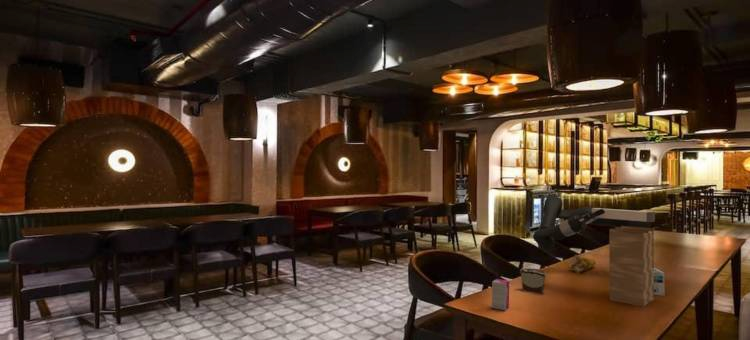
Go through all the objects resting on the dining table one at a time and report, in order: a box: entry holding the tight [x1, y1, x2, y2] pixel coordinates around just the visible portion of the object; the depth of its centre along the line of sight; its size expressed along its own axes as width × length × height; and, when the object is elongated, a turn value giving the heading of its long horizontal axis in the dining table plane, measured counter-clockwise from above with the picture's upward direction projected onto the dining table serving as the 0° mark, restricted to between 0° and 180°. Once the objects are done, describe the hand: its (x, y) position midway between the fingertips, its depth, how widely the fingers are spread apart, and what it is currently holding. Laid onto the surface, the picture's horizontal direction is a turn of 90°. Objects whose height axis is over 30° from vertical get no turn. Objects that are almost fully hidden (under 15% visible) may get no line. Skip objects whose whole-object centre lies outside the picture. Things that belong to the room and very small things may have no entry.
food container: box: [519, 268, 547, 295], centre depth 205 cm, size 12×6×10 cm, turn 47°
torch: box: [569, 254, 597, 274], centre depth 248 cm, size 8×8×25 cm
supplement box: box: [491, 278, 510, 312], centre depth 179 cm, size 6×6×12 cm
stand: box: [608, 226, 655, 307], centre depth 191 cm, size 15×13×31 cm
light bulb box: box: [654, 267, 666, 297], centre depth 202 cm, size 11×7×11 cm, turn 168°
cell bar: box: [592, 207, 656, 223], centre depth 191 cm, size 4×24×4 cm, turn 42°
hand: (605, 210), depth 196 cm, fingers closed on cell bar, 4 cm apart
